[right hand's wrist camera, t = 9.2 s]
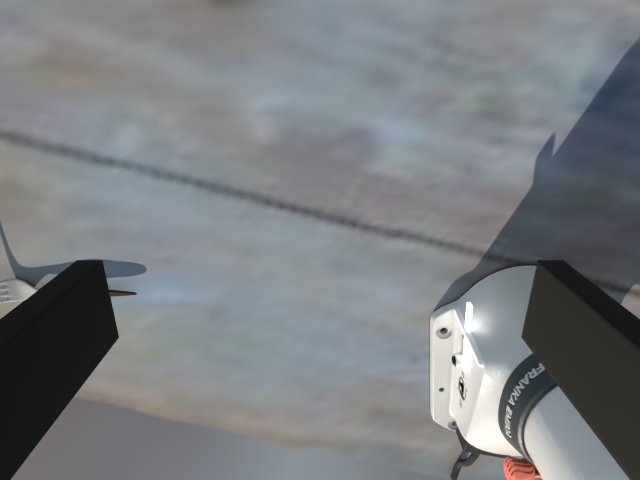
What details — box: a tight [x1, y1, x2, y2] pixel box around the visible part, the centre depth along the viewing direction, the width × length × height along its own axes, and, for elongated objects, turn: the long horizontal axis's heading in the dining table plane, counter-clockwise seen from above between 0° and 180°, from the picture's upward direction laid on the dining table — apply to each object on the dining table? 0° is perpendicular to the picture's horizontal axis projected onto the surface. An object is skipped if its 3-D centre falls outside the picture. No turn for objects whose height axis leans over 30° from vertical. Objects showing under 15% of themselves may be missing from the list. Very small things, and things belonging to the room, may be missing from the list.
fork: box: [0, 279, 136, 303], centre depth 43 cm, size 3×16×2 cm, turn 89°
